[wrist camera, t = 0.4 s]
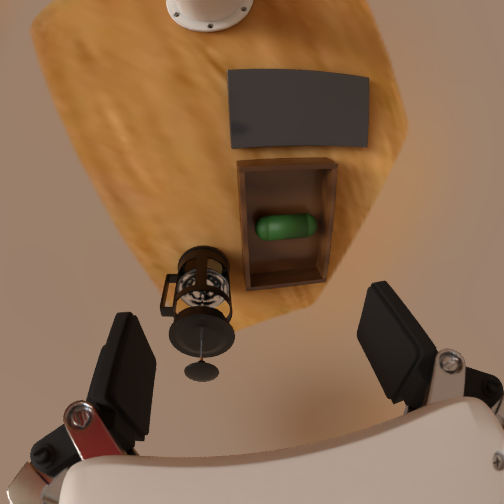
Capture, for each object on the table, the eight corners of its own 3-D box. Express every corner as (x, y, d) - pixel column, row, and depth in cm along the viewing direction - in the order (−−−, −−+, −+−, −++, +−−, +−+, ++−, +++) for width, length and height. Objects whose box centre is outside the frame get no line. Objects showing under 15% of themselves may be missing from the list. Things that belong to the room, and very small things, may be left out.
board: (226, 71, 33) (227, 69, 32) (364, 78, 35) (369, 77, 34) (231, 147, 40) (231, 148, 38) (363, 145, 41) (367, 147, 40)
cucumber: (252, 213, 45) (256, 223, 42) (313, 208, 46) (321, 218, 42) (253, 234, 47) (256, 246, 44) (312, 229, 48) (319, 240, 45)
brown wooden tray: (236, 160, 41) (238, 167, 37) (326, 157, 42) (337, 163, 38) (243, 276, 52) (246, 291, 48) (318, 268, 53) (326, 281, 49)
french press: (233, 245, 48) (248, 350, 29) (232, 287, 53) (244, 392, 33) (166, 245, 47) (141, 350, 27) (171, 288, 51) (157, 392, 32)
